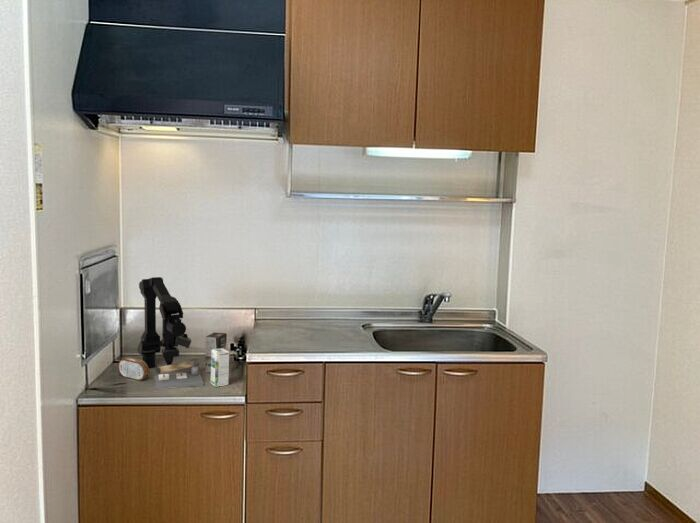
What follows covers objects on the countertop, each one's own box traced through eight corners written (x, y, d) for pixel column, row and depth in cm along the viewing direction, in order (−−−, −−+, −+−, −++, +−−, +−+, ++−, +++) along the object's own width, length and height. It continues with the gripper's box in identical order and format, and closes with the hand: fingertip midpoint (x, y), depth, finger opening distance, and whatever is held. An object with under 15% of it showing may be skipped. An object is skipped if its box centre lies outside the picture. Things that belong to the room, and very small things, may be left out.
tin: (149, 380, 232) (149, 360, 231) (143, 382, 229) (144, 362, 228) (123, 374, 238) (122, 355, 237) (117, 376, 235) (117, 357, 234)
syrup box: (210, 383, 231) (210, 349, 230) (223, 381, 235) (223, 347, 233) (215, 387, 227) (216, 352, 225) (229, 385, 230) (229, 350, 229)
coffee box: (218, 373, 245) (218, 337, 243) (204, 372, 246) (204, 336, 244) (226, 367, 254) (227, 333, 252) (213, 366, 255) (214, 331, 253)
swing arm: (196, 363, 240) (196, 358, 239) (200, 365, 237) (200, 360, 237) (153, 372, 225) (153, 367, 225) (158, 374, 223) (158, 369, 222)
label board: (154, 378, 234) (154, 366, 234) (199, 375, 241) (200, 363, 240) (155, 389, 221) (155, 376, 221) (203, 385, 228) (203, 373, 227)
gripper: (192, 335, 223) (191, 373, 225) (188, 324, 240) (187, 359, 242) (162, 337, 219) (162, 375, 221) (160, 325, 236) (160, 361, 238)
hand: (169, 367), depth 231 cm, fingers closed
